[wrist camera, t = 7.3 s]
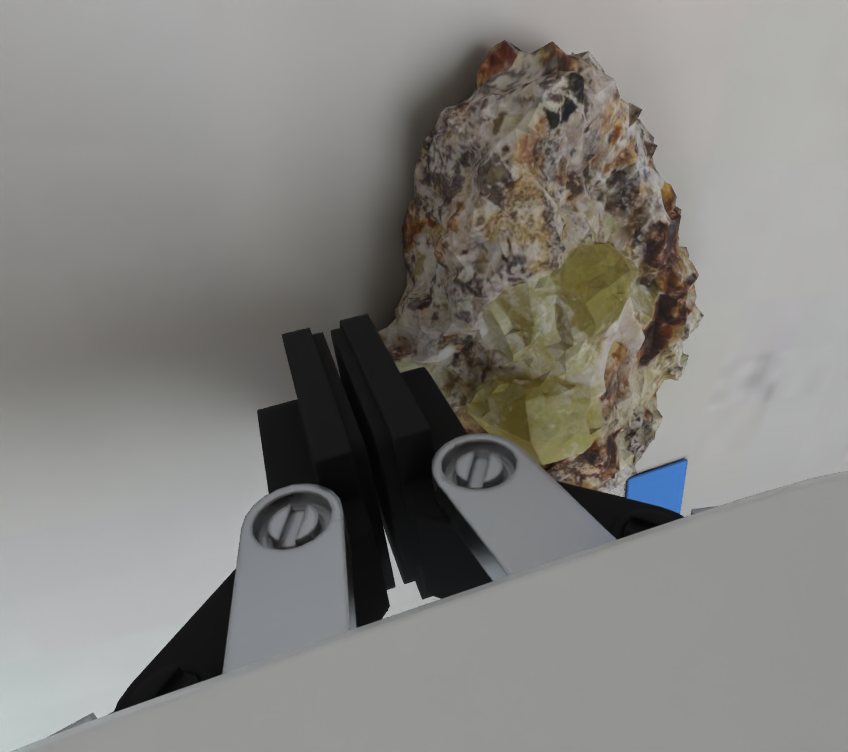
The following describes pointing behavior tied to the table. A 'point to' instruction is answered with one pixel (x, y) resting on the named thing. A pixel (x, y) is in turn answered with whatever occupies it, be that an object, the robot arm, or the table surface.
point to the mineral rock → (546, 267)
